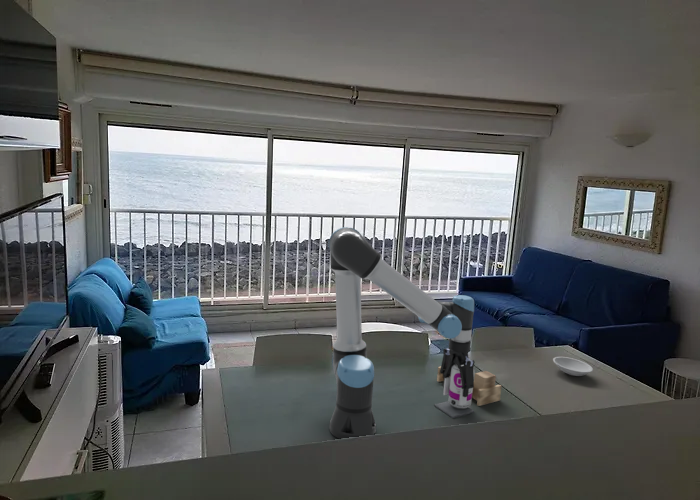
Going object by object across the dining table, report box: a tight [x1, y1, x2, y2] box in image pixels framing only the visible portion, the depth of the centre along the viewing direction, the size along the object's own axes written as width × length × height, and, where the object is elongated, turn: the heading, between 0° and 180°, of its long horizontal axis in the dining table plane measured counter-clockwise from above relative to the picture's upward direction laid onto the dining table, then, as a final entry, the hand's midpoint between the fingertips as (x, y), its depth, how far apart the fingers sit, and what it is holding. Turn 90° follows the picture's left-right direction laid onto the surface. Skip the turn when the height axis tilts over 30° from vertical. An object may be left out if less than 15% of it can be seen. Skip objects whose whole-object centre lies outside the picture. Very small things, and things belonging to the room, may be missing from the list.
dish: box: [552, 356, 594, 377], centre depth 215 cm, size 18×14×5 cm
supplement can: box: [447, 364, 476, 408], centre depth 178 cm, size 8×8×15 cm
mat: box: [433, 400, 475, 419], centre depth 178 cm, size 10×10×1 cm
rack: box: [436, 366, 502, 407], centre depth 194 cm, size 11×24×10 cm, turn 30°
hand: (454, 399), depth 177 cm, fingers closed on supplement can, 8 cm apart
